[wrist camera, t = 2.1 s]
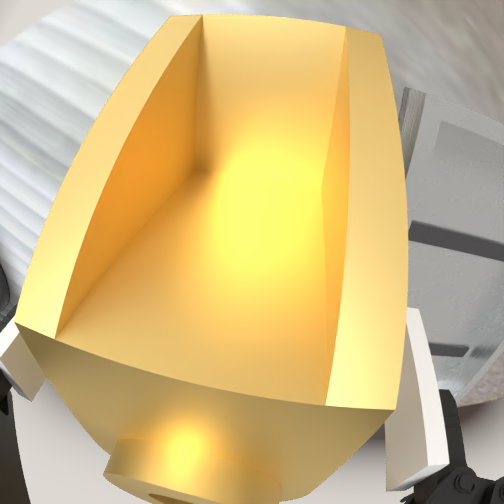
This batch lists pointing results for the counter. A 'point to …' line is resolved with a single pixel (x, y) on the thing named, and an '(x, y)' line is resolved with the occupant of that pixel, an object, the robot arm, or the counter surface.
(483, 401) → the counter surface
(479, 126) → the tray
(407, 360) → the robot arm
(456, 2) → the counter surface
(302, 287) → the yellow mounting bracket
